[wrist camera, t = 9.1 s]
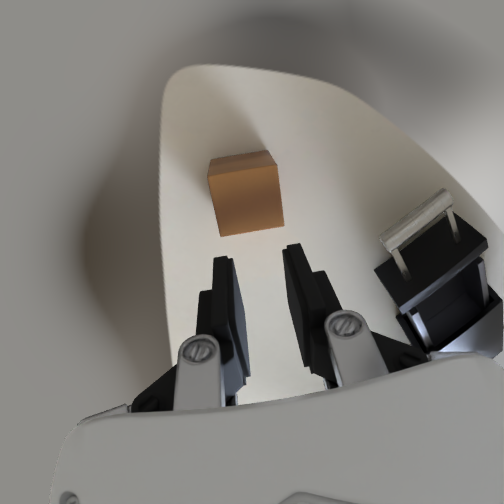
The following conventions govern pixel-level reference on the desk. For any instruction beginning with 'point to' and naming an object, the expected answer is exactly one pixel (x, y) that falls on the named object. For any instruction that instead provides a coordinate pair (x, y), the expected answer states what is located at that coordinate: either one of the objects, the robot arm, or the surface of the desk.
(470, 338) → the black drawer unit
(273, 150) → the desk surface
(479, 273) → the drawer with bar handle
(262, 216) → the tan wooden cube
